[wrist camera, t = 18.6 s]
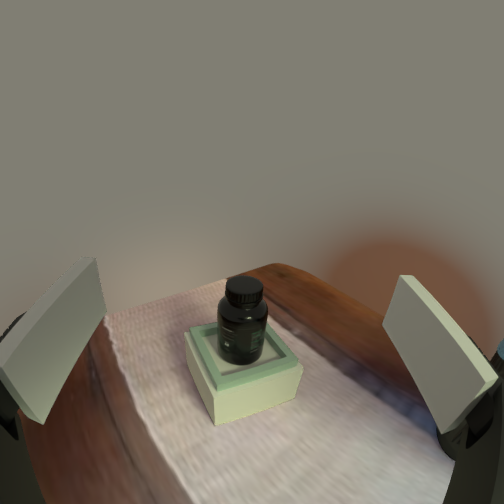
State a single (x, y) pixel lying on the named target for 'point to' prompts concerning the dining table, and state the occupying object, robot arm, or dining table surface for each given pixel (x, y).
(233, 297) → the supplement bottle
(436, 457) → the dining table surface
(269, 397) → the riser
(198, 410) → the dining table surface
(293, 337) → the dining table surface
